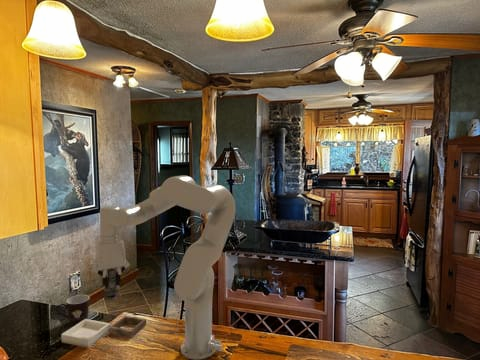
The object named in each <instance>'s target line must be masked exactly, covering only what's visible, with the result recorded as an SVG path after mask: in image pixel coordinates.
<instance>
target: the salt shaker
mask: <svg viewBox="0 0 480 360" xmlns="http://www.w3.org/2000/svg"><path fill="white" fill-rule="evenodd" d="M116 272H117V270H116V268H113V269H107V288H105V287H103V291H104V293H105V296H104V299H105V300H106V301H113V300H115V299H118V298H119V297H120V294H118V293H119V291H120V289H121V287H120V285H117V284H116Z"/></svg>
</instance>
